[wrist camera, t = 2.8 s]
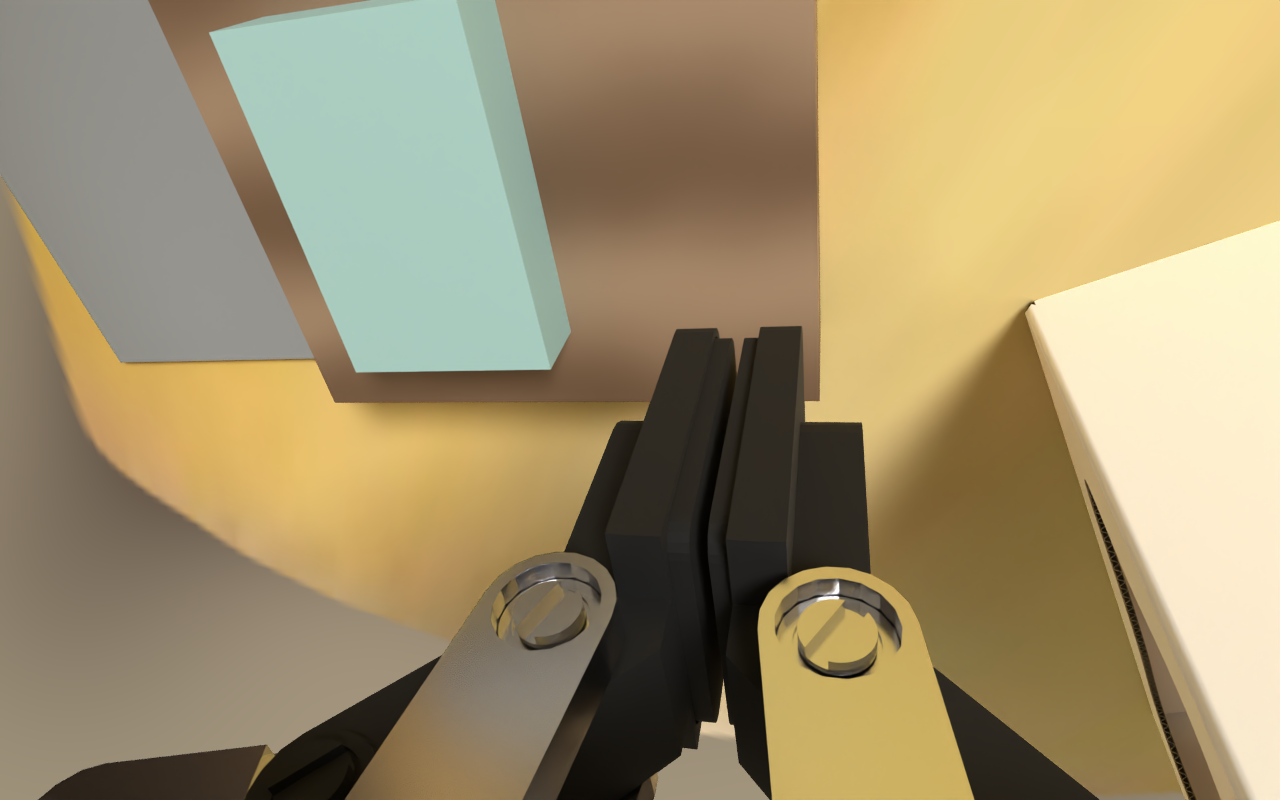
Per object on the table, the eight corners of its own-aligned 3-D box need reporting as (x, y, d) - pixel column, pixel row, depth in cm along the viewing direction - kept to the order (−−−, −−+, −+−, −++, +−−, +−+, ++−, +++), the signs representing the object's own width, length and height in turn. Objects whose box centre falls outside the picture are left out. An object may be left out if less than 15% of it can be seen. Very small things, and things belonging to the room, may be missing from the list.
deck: (219, -94, 20) (108, -85, 17) (814, -215, 16) (812, -232, 13) (389, 341, 28) (335, 402, 25) (820, 330, 24) (819, 401, 21)
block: (263, 16, 18) (208, 32, 16) (490, -19, 16) (455, -6, 15) (388, 336, 23) (356, 372, 21) (570, 331, 22) (550, 369, 20)
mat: (-129, -44, 23) (-139, -43, 23) (181, -109, 20) (173, -109, 20) (125, 358, 32) (120, 362, 32) (371, 353, 29) (367, 357, 29)
